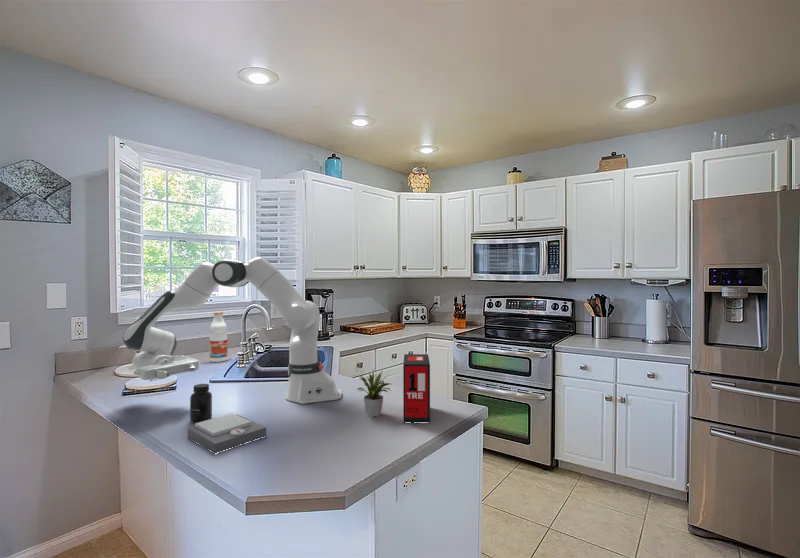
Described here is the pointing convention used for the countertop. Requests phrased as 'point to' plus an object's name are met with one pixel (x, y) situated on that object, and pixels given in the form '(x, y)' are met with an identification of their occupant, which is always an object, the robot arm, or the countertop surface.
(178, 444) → the countertop surface
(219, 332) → the fruit juice
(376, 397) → the house plant
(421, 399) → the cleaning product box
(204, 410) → the supplement bottle
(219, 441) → the kitchen scale
